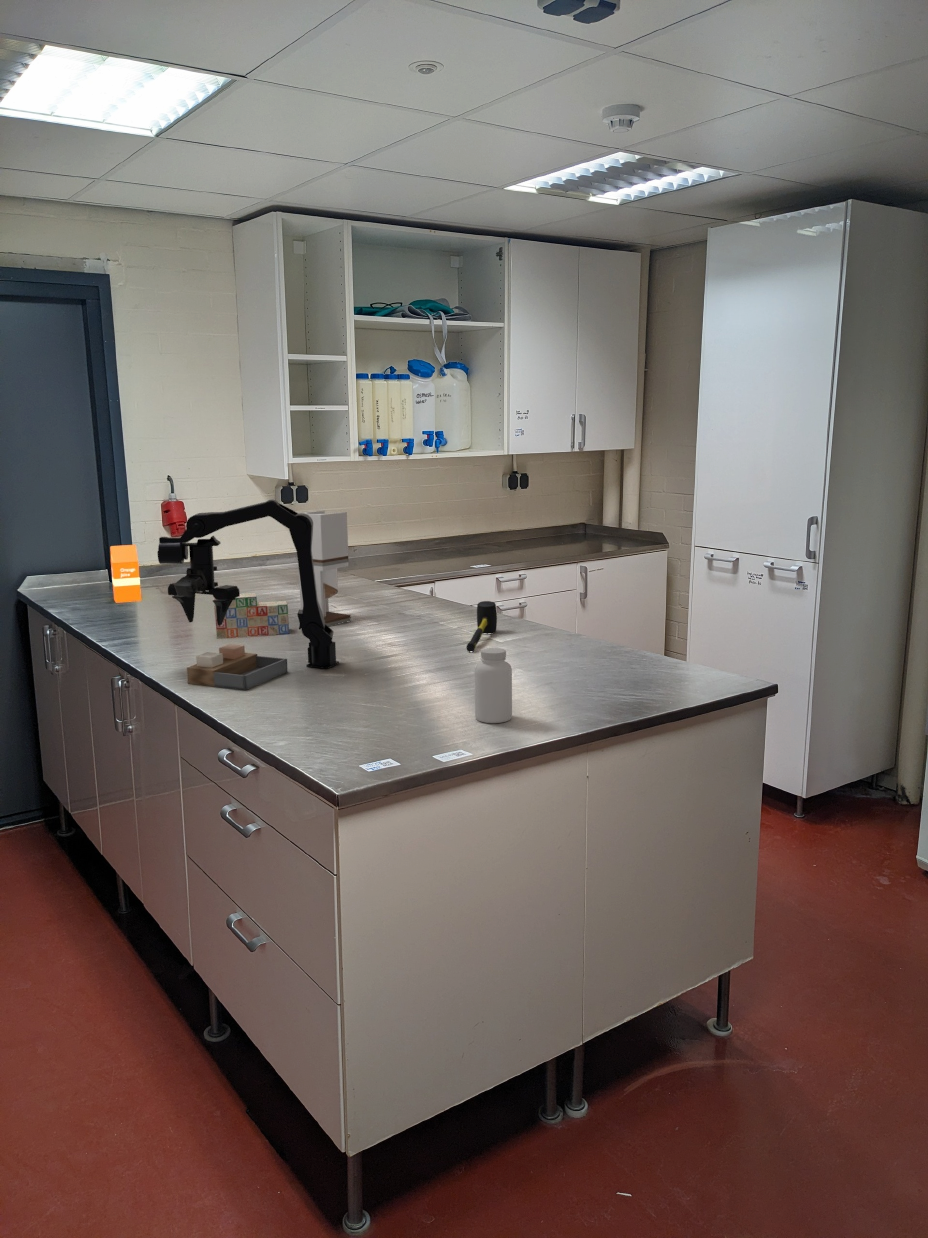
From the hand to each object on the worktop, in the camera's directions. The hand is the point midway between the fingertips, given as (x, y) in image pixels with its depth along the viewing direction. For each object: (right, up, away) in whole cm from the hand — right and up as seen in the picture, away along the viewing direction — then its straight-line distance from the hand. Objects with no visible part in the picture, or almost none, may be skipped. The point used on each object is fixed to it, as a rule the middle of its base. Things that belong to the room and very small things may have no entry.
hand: (205, 623), depth 242 cm
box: (+14, -14, -8) cm, 21 cm away
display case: (+22, 0, +59) cm, 63 cm away
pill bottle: (+73, -20, -41) cm, 86 cm away
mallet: (+71, -6, +31) cm, 78 cm away
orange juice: (-56, +8, +101) cm, 116 cm away
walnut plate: (+6, -13, -4) cm, 15 cm away
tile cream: (+4, -10, -9) cm, 14 cm away
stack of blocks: (+3, -4, +43) cm, 43 cm away
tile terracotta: (+7, -8, -1) cm, 11 cm away
